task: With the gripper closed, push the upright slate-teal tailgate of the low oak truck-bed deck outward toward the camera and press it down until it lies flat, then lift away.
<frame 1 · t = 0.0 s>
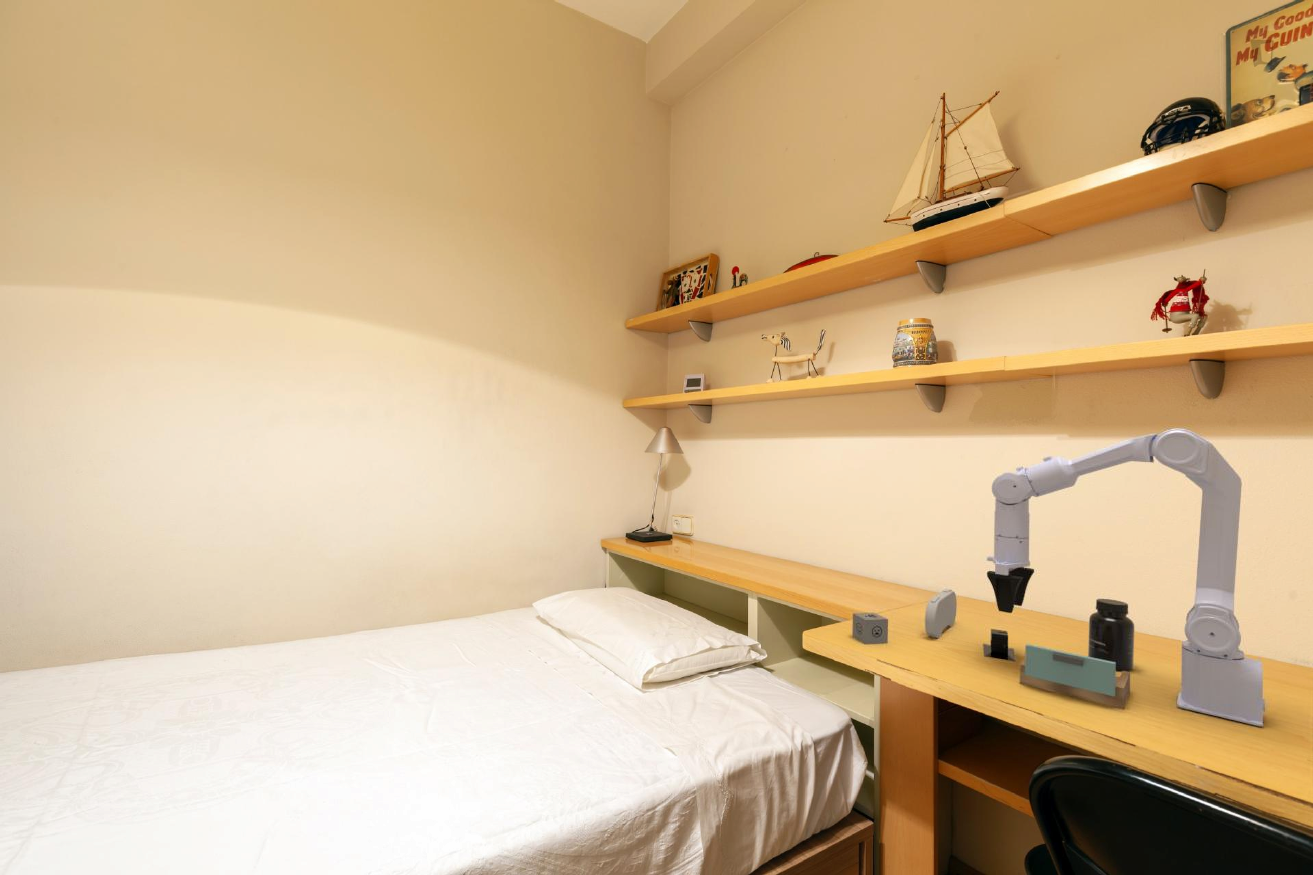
hand: (1010, 608, 113), 10 cm above the table, fingers open, 7 cm apart
black upright stand: (999, 656, 119), on the table
game controller: (941, 631, 133), on the table
bed deck: (1074, 687, 101), on the table
dice cube: (869, 641, 124), on the table
tailgate: (1068, 669, 97), point 5 cm above the table, hinge at 0.0°
supplement bottle: (1110, 666, 113), on the table
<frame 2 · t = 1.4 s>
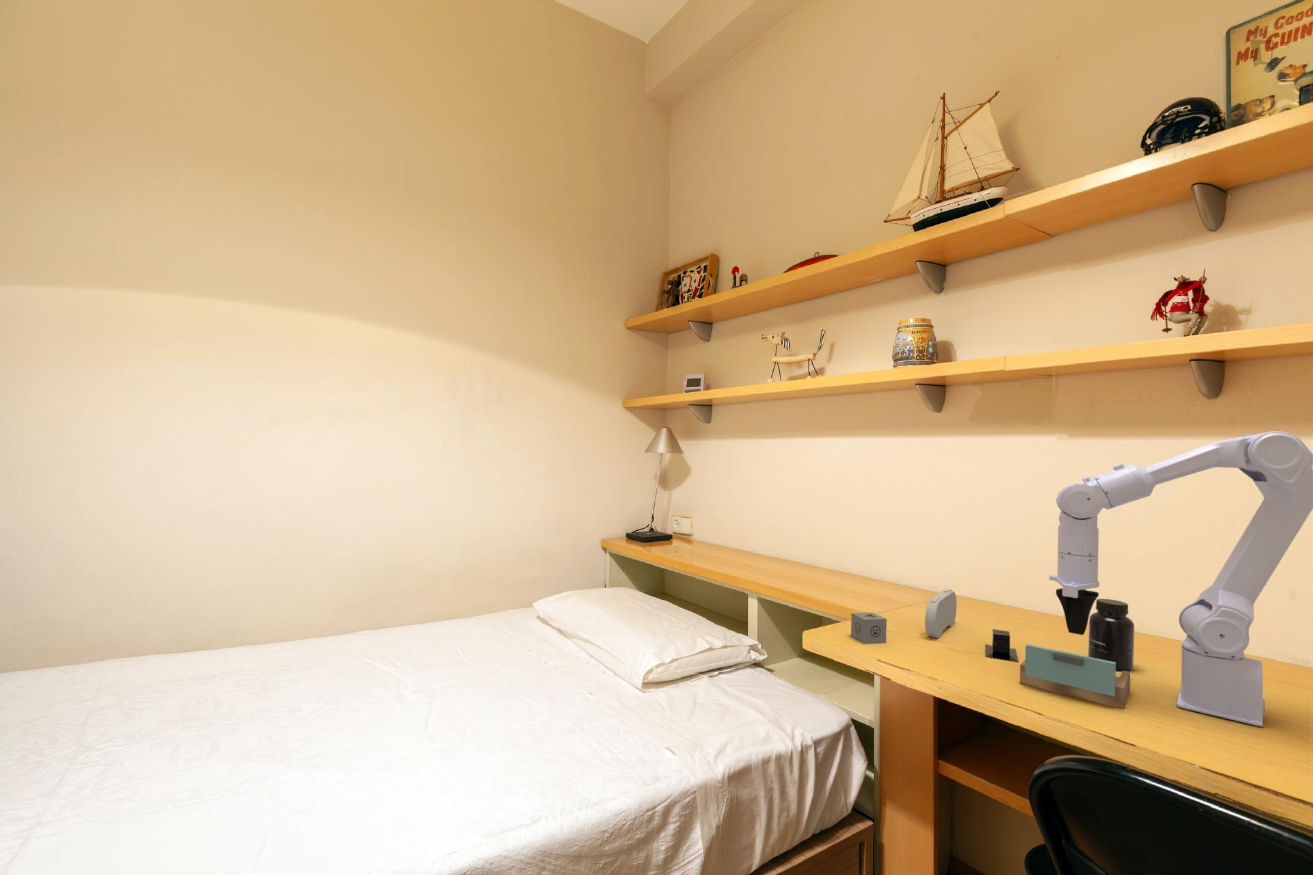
hand: (1076, 633, 103), 9 cm above the table, fingers closed
nothing on the table moved.
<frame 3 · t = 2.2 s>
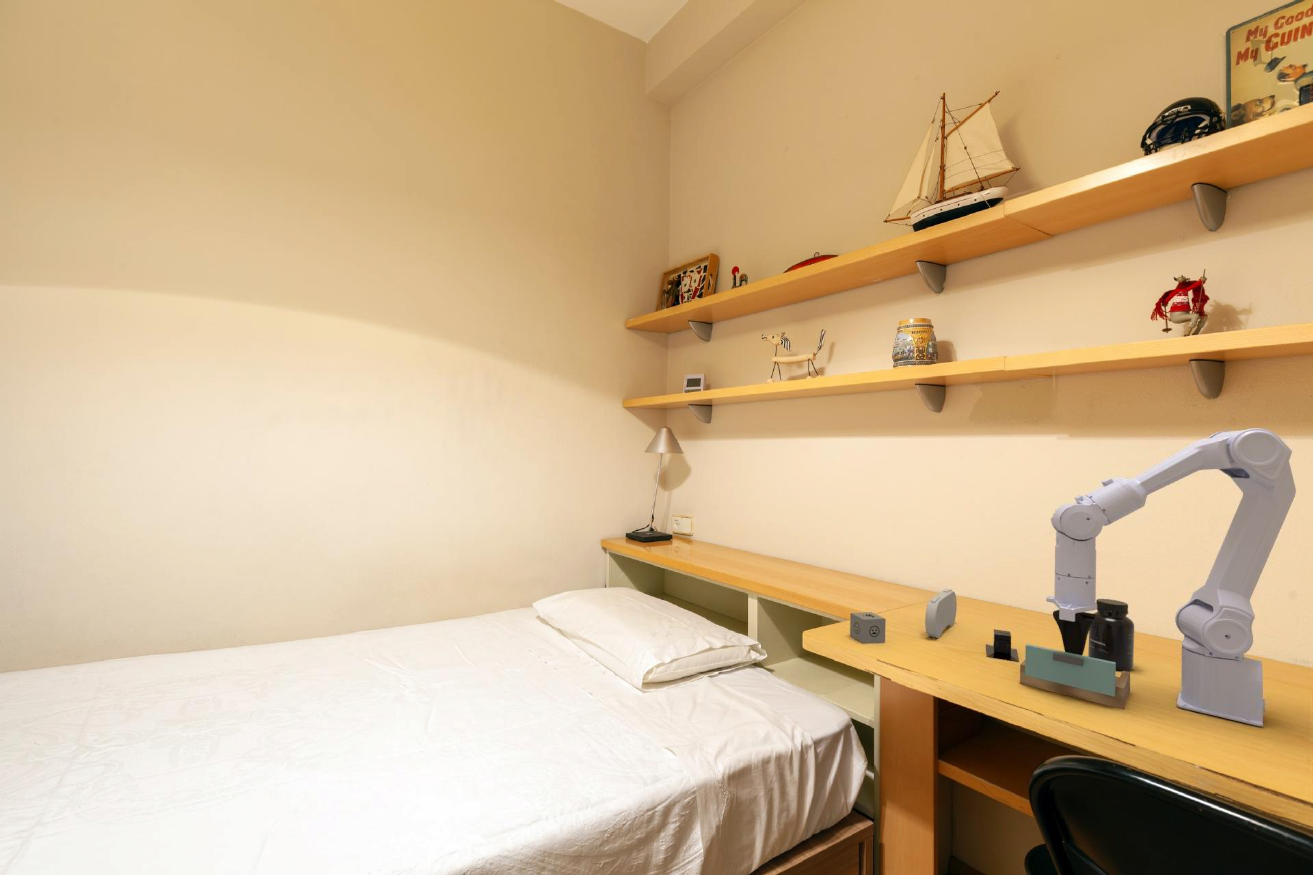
hand: (1073, 655, 101), 5 cm above the table, fingers closed
nothing on the table moved.
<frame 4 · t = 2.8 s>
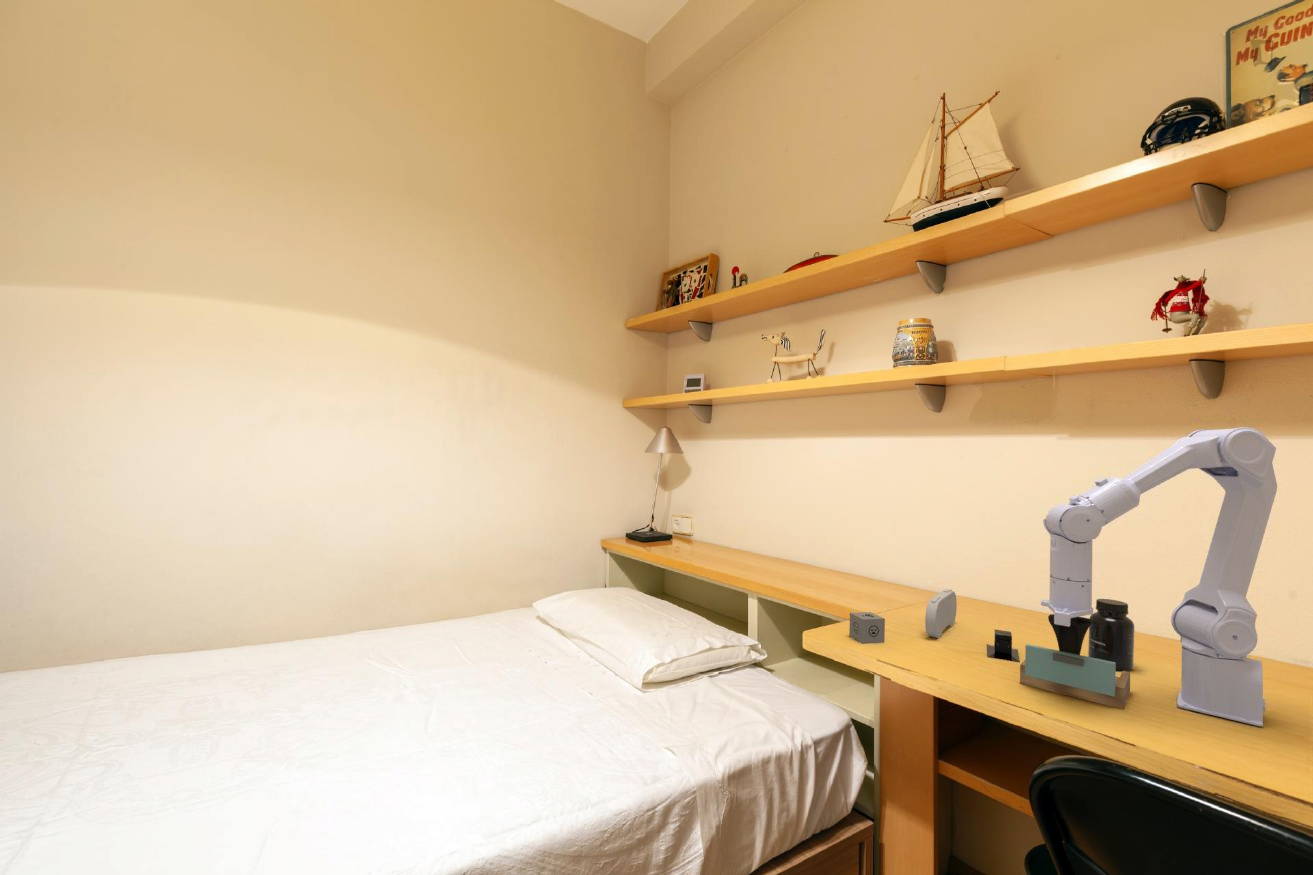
hand: (1069, 661, 98), 5 cm above the table, fingers closed, pressing on tailgate
tailgate: (1068, 669, 97), point 4 cm above the table, hinge at 0.5°, touching gripper
everything else where it was.
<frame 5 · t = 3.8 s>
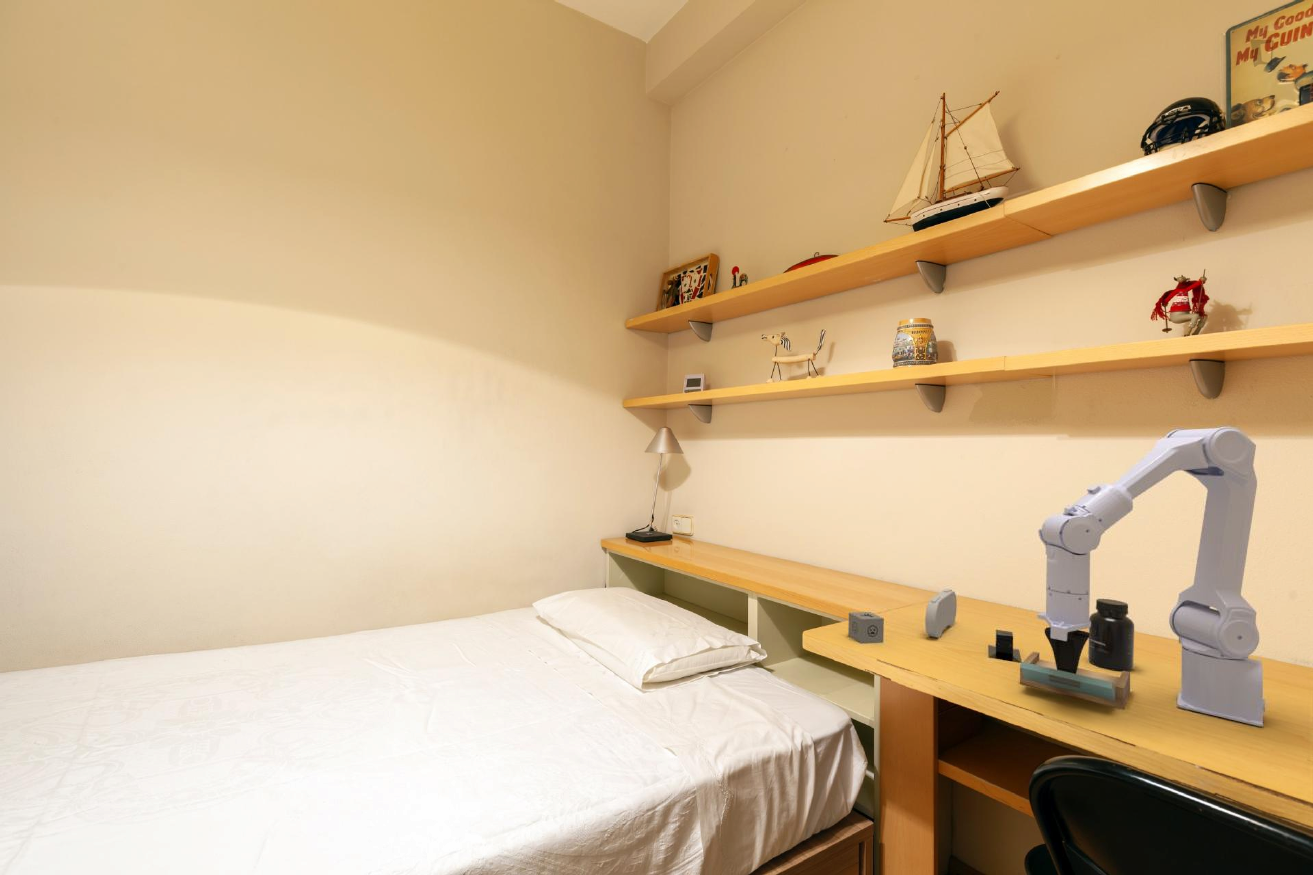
hand: (1066, 676, 95), 4 cm above the table, fingers closed, pressing on tailgate
tailgate: (1066, 682, 95), point 3 cm above the table, hinge at 53.7°, touching gripper
everything else where it was.
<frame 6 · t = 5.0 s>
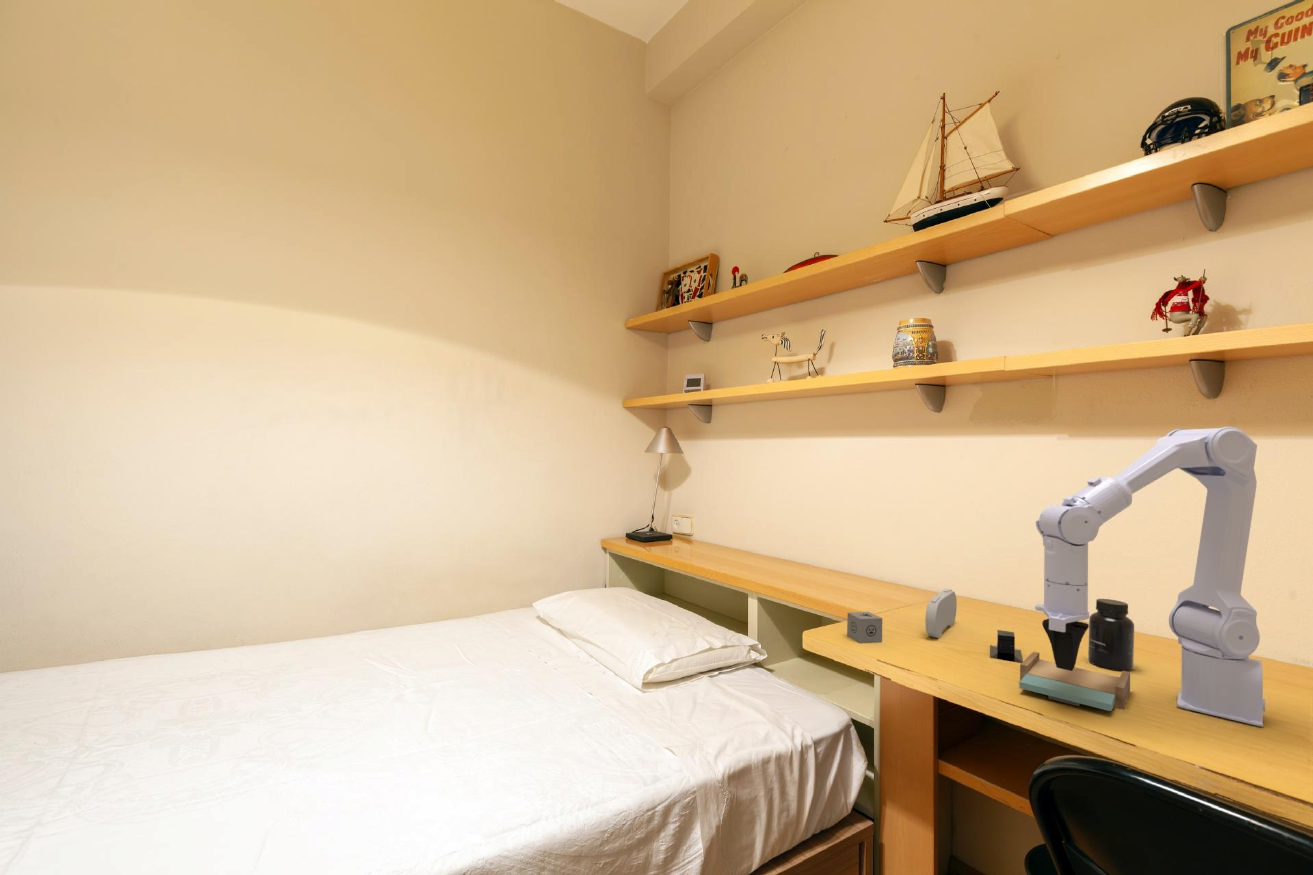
hand: (1065, 668, 94), 6 cm above the table, fingers closed
tailgate: (1066, 693, 95), point 1 cm above the table, hinge at 91.1°
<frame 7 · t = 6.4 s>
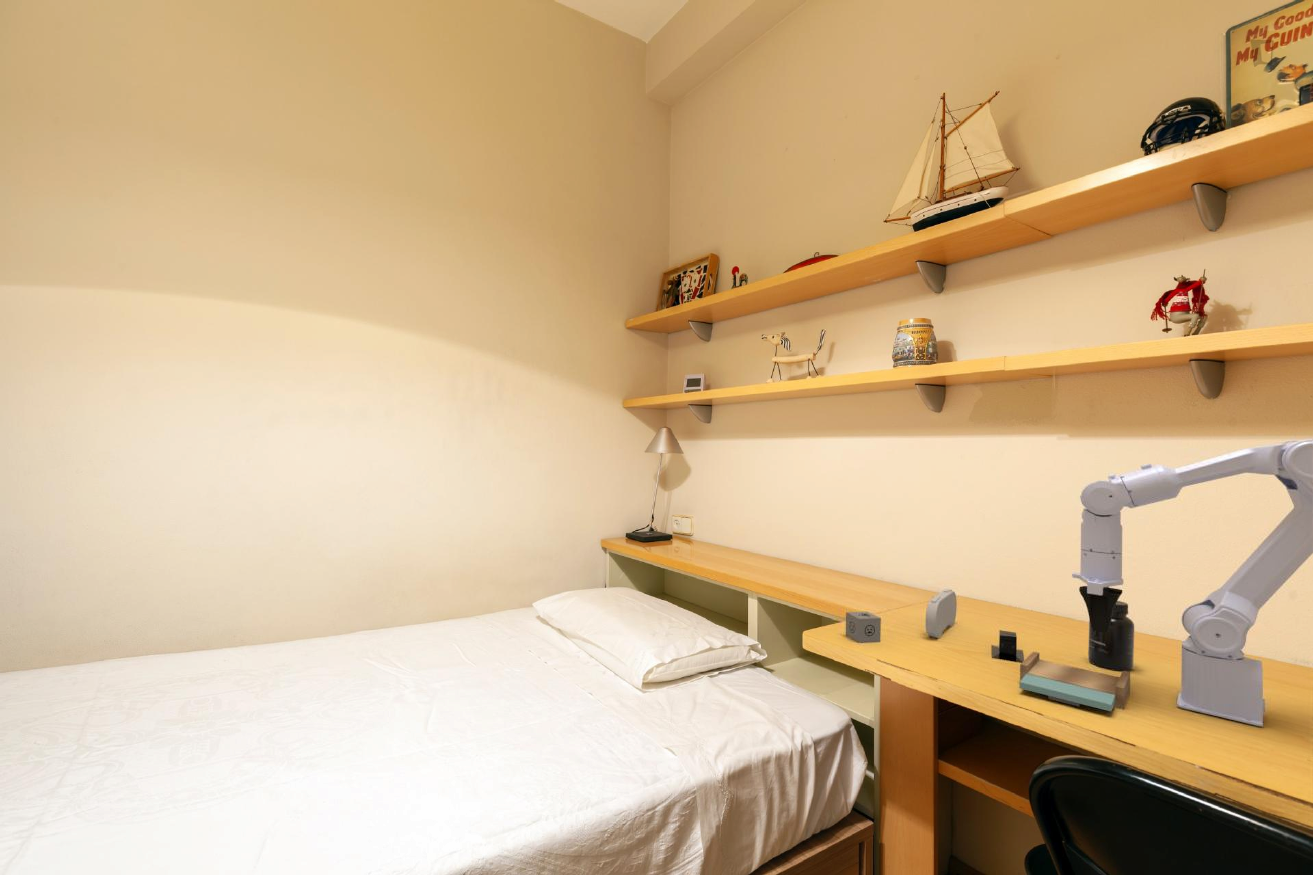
hand: (1100, 630, 102), 9 cm above the table, fingers closed
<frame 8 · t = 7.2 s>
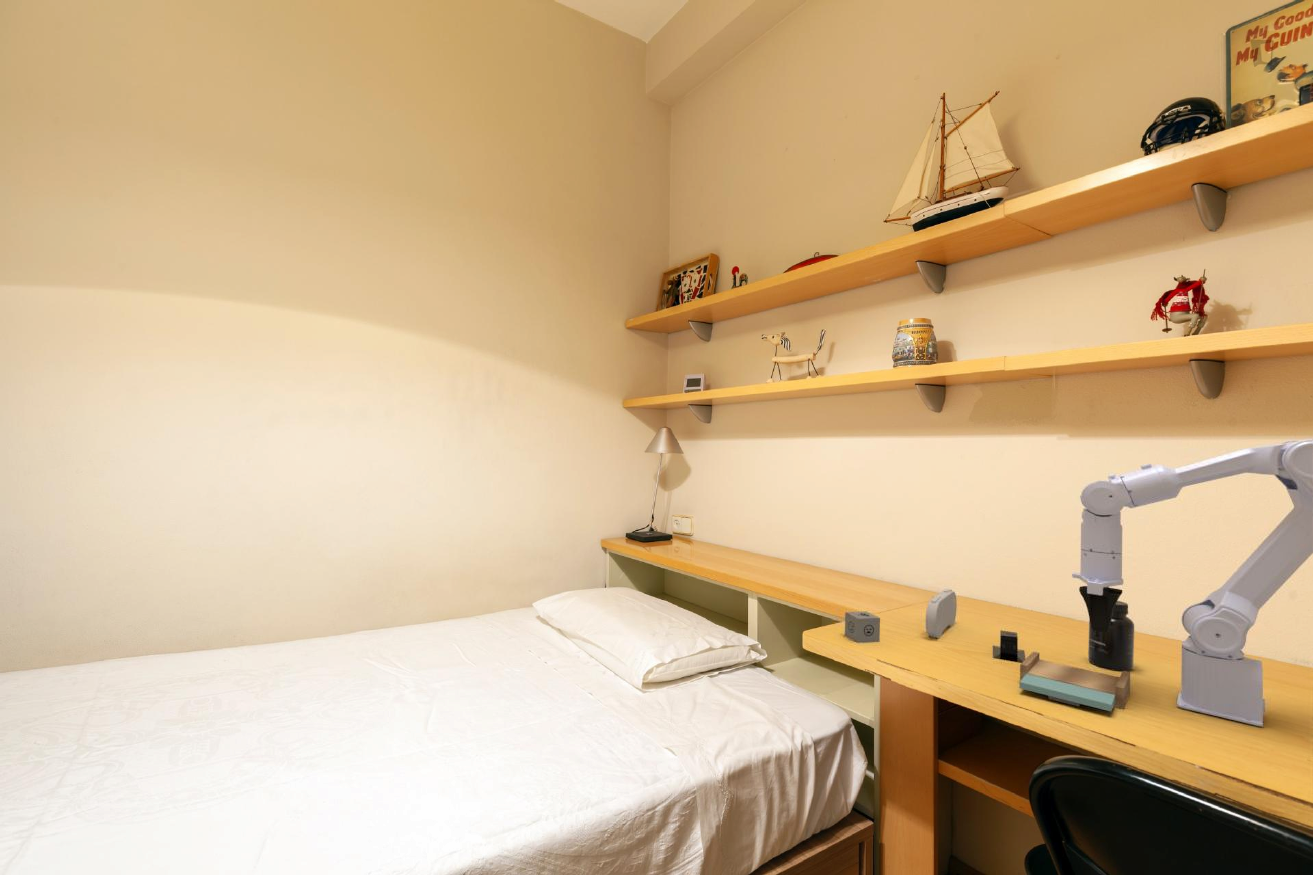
hand: (1100, 630, 102), 9 cm above the table, fingers closed
at the end: tailgate at +91° (first picture: +0°); black upright stand moved 1.9 cm from its start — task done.
